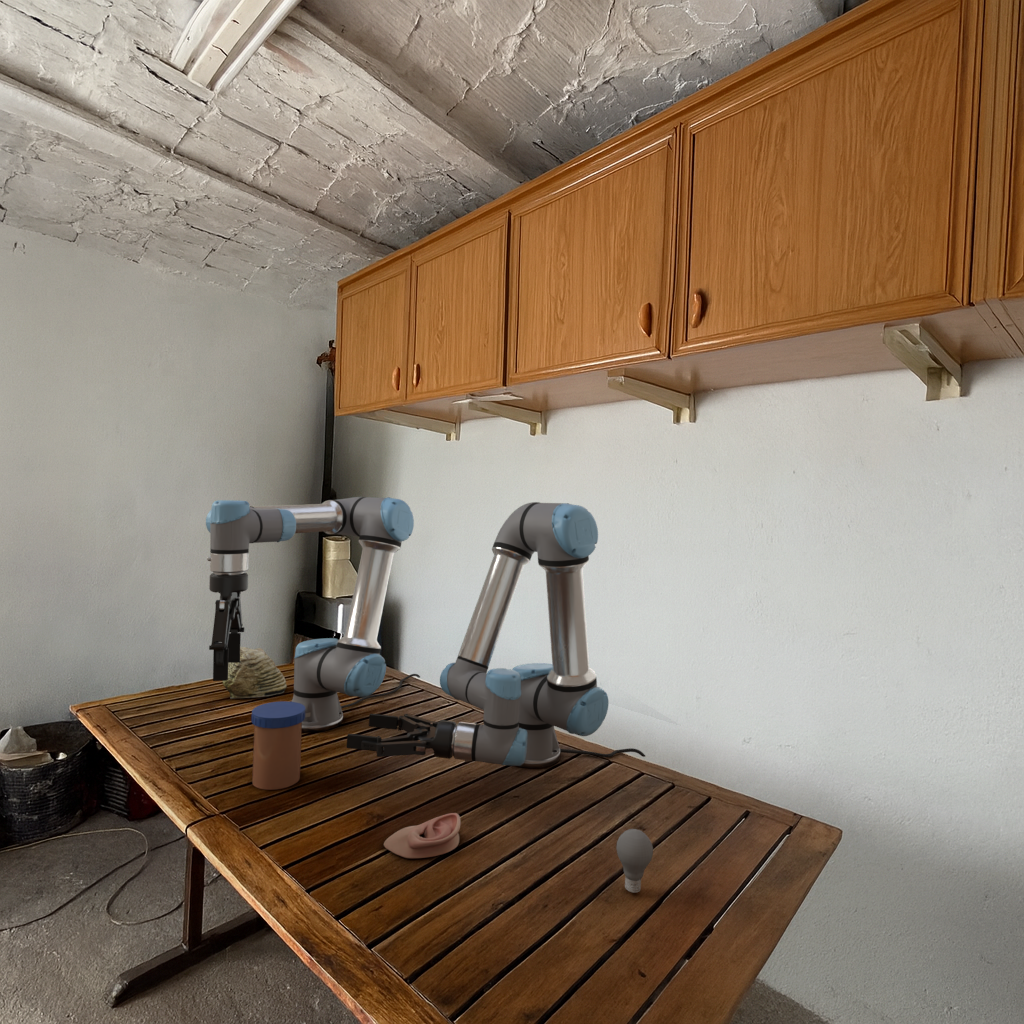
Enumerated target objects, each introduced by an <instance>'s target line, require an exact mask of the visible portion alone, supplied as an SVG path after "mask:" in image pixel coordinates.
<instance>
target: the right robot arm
mask: <svg viewBox="0 0 1024 1024" xmlns="http://www.w3.org/2000/svg"><path fill="white" fill-rule="evenodd" d="M598 541H599V529H598V524H597V521H596V519H595V517H594V515H593V514H592V513H591V512H590V511H589V510H588V509H587V508H586V507H584V506H582V505H580V504H572V503H568V502H567V503H566V502H539V501H533V502H527V503H525V504H522V505H520V506H519V507H517V508H516V509H514V511H513V512H512V513H510V515H509V516H508V517H507V519H506V520H505V521H504V523H503V524H502V526H501V527H500V529H499V531H498V532H497V535H496V537H495V540H494V542H493V544H492V547H491V551H492V554H493V556H492V560H491V562H490V565H489V568H488V570H487V573H486V577H485V579H484V581H483V585H482V588H481V590H480V593H479V596H478V599H477V601H476V604H475V607H474V610H473V613H472V616H471V618H470V621H469V624H468V627H467V629H466V633H465V634H464V638H463V640H462V643H461V646H460V649H459V651H458V655H457V658H456V659H455V662H450V663H448V664H447V665H445V668H443V669H442V670H441V673H440V675H439V685H440V688H441V690H442V691H443V693H445V694H446V695H448V696H450V697H452V698H453V699H454V700H456V701H461V702H463V703H466V704H469V705H471V706H473V707H475V708H478V709H480V710H482V711H483V717H482V719H483V721H482V722H483V724H480V723H473V722H464V721H459V722H456V721H451V720H439V721H436V720H435V721H434V720H429V719H426V718H423V717H421V716H420V717H419V716H416V715H414V714H410V713H404V714H403V715H399V716H395V715H387V714H377V713H369V716H368V727H371V728H378V729H379V728H380V729H389V730H397V731H398V732H401V731H404V732H406V733H407V734H405V735H398V736H392V737H386V738H382V737H381V736H380V735H377V736H373V735H364V734H354V733H347V735H346V749H351V750H360V751H370V752H376V757H377V758H383V757H386V758H387V757H397V756H412V755H414V756H425V755H426V750H428V749H429V750H430V749H431V750H433V755H434V757H435V758H439V759H440V758H441V759H448V760H450V759H452V758H453V759H454V760H458V761H459V760H461V761H464V762H465V763H469V762H479V763H486V764H493V765H494V764H495V765H501V766H511V767H513V766H514V767H520V768H527V769H540V768H547V767H551V766H553V765H555V764H557V763H558V762H559V761H560V759H561V753H564V754H575V755H576V754H577V755H586V756H587V755H588V756H596V757H600V758H612V757H614V756H615V755H618V754H624V753H636V754H638V755H640V757H643V758H644V757H645V758H646V754H645V753H644V752H643V751H642V750H640V749H638V748H633V747H632V748H631V747H630V748H622V749H616V750H613V751H611V752H609V753H600V752H597V751H589V750H581V749H580V750H579V749H567V748H560V745H559V744H560V743H559V740H558V736H557V733H556V729H555V727H556V728H558V729H560V730H564V731H566V732H567V733H568V734H571V735H577V736H579V737H589V736H591V735H593V734H594V733H595V732H597V731H598V729H600V728H601V726H602V725H603V722H604V721H605V719H606V716H607V714H608V710H609V703H610V702H609V701H610V700H609V696H608V694H607V692H606V691H605V690H604V689H603V688H602V687H600V686H598V681H597V679H598V678H597V673H596V671H595V670H594V669H593V668H591V667H590V659H589V658H590V657H589V644H588V642H589V641H588V630H587V629H588V627H587V614H586V598H585V583H584V568H585V566H586V565H587V564H588V563H589V562H590V556H591V555H592V554H593V553H594V552H595V550H596V548H597V547H596V545H597V544H598ZM534 553H537V564H538V566H539V567H541V569H543V570H544V571H545V584H546V597H547V609H548V623H549V624H548V625H549V626H548V627H549V638H550V650H551V651H550V652H551V663H548V662H547V663H546V662H531V663H525V664H524V663H523V664H519V665H515V666H514V667H512V669H510V668H505V667H496V668H491V669H489V666H490V664H491V660H492V657H493V654H494V652H495V649H496V646H497V643H498V641H499V638H500V634H501V632H502V629H503V626H504V624H505V621H506V618H507V615H508V612H509V609H510V606H511V604H512V601H513V598H514V595H515V592H516V590H517V587H518V584H519V581H520V578H521V575H522V572H523V570H524V567H525V566H526V565H528V564H530V562H531V559H532V557H533V555H534Z"/></svg>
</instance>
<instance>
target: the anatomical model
mask: <svg viewBox="0 0 1024 1024" xmlns="http://www.w3.org/2000/svg"><path fill="white" fill-rule="evenodd" d="M461 820H462V819H461V816H460V815H459V813H456V812H450V813H446V814H443V815H439V816H437V817H434V818H431V819H428V820H427V821H425V822H423V823H420V824H418V825H409V826H406V827H403V828H400V829H399V830H397V831H395V832H394V833H393V834H391V835H390V836H388V838H386V839H385V841H384V842H383V847H384V848H385V849H386V850H388V851H389V852H391V853H393V854H395V855H396V856H400V857H402V858H405V859H425V858H432V857H436V856H440V855H441V856H442V855H444V854H447V853H449V852H451V851H453V850H456V848H457V847H458V845H459V843H460V834H459V832H460V829H461V826H462V825H461V824H462V822H461Z"/></svg>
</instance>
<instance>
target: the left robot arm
mask: <svg viewBox="0 0 1024 1024" xmlns="http://www.w3.org/2000/svg"><path fill="white" fill-rule="evenodd" d="M205 527H206V529H207V531H208V532H209V533H210V534H209V536H210V537H209V538H210V540H209V541H210V542H209V543H210V545H209V550H210V554H209V556H207V558H206V560H207V562H209V571H211V572H212V573H210V575H209V585H208V586H209V587H208V589H209V591H210V592H212V593H215V594H217V593H219V599H216V600H215V603H214V605H215V610H214V611H215V612H214V618H213V619H214V620H213V628H212V636H211V644H210V645H208V650H209V651H213V653H212V654H213V657H212V658H213V659H212V661H213V662H212V681H213V682H223V681H227V680H228V663H238V662H240V647H241V641H242V640H241V635H242V634H241V633H245V627H244V625H243V615H242V603H241V593H242V592H245V591H248V588H249V574H248V573H247V571H249V568H250V567H249V563H250V562H249V561H250V560H249V559H250V550H249V549H250V544H258V543H280V542H286V541H287V542H288V541H289V540H291V539H292V538H293V537H294V536H295V534H305V533H318V532H319V533H321V532H323V533H325V534H326V535H345V536H351V537H356V538H358V543H359V544H360V546H361V548H362V551H361V556H360V560H359V565H358V570H357V575H356V580H355V585H354V590H353V594H352V599H351V604H350V609H349V614H348V617H347V618H348V619H347V622H346V623H347V624H346V628H345V633H344V635H343V636H342V637H341V638H339V639H338V638H335V637H329V638H328V637H326V638H313V639H308V640H304V641H302V642H299V643H298V644H297V645H296V647H295V652H294V653H295V654H294V657H293V659H294V660H293V662H294V663H293V665H294V666H293V695H292V696H293V697H292V699H291V702H296V703H300V704H302V705H304V706H305V719H304V720H303V721H302V733H316V732H325V731H329V730H332V729H335V728H337V727H339V726H340V725H342V723H343V722H344V714H343V709H345V708H349V707H353V706H356V705H357V704H359V703H361V702H363V701H366V700H369V699H372V698H373V699H374V698H379V697H384V696H388V695H391V694H394V693H396V692H397V691H398V690H400V689H401V688H402V686H403V682H405V681H406V680H408V679H409V678H412V677H417V678H418V679H419V678H421V675H420V674H417V673H411V674H409V675H407V676H405V677H403V678H401V680H400V681H399V685H398V686H397V687H396V688H394V689H391V690H389V691H387V692H382V693H377V694H374V693H375V692H376V691H377V690H378V689H379V688H380V686H381V685H382V683H383V681H384V679H385V675H386V672H387V663H386V660H385V658H384V657H383V656H382V655H381V650H382V646H381V645H380V643H379V642H378V635H379V631H380V626H381V620H382V616H383V610H384V605H385V599H386V595H387V591H388V590H387V589H388V584H389V580H390V574H391V571H392V566H393V565H392V564H393V560H394V555H395V553H397V552H398V551H400V550H401V547H402V542H405V541H406V540H408V539H409V538H410V537H411V536H412V534H413V531H414V527H415V520H414V515H413V512H412V510H411V507H410V506H409V504H408V503H407V502H406V501H405V500H402V499H400V498H393V497H389V496H388V497H379V496H377V497H376V496H371V497H370V496H353V497H348V498H340V499H328V500H325V501H323V502H322V503H309V504H306V503H305V504H276V505H275V504H273V505H271V504H270V505H250V503H249V501H248V500H240V499H239V500H236V499H234V500H233V499H232V500H231V499H217V500H214V501H213V502H212V504H211V509H210V510H209V512H208V513H207V515H206V518H205ZM338 694H343V695H347V696H348V697H354V698H355V697H356V698H359V699H357V700H355V701H353V702H350V703H348V704H344V705H341V702H340V699H339V695H338Z"/></svg>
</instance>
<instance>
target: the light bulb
mask: <svg viewBox="0 0 1024 1024" xmlns="http://www.w3.org/2000/svg"><path fill="white" fill-rule="evenodd" d="M615 849H616V854H617V857H618V859H619V861H620V863H621V865H622V867H623V873H624V874H623V875H624V876H625V878H624V888H625V890H627V891H628V892H630V893H634V894H635V893H639V892H640V891H641V889H642V887H641V886H642V879H643V877H644V875H645V871H646V868H647V867H648V866H649V864H650V863H651V861H652V859H653V855H654V847H653V843H652V841H651V838H649V836H648V835H647V834H646V833H645V832H643V831H642V830H641V829H636V828H629V829H627V830H625V831H623V832H622V833H621V834H620V835H619V837H618V839H617V841H616V847H615Z"/></svg>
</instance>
